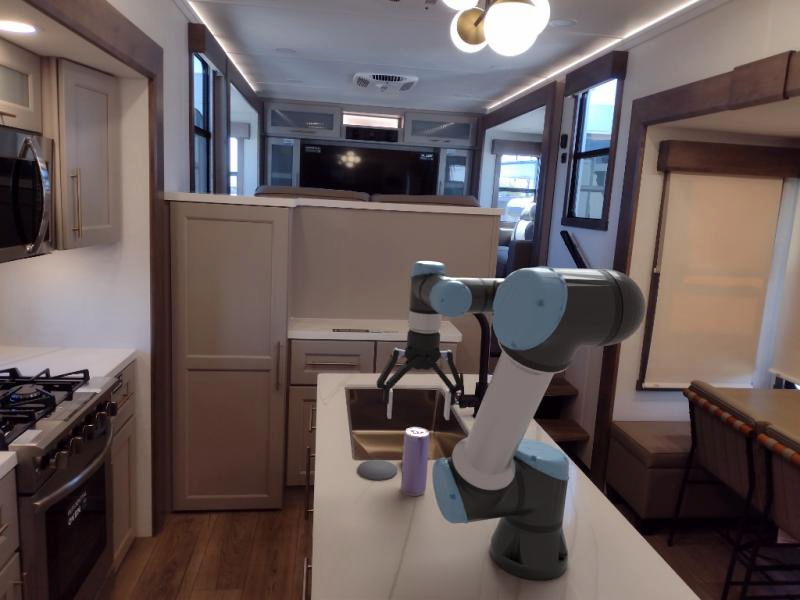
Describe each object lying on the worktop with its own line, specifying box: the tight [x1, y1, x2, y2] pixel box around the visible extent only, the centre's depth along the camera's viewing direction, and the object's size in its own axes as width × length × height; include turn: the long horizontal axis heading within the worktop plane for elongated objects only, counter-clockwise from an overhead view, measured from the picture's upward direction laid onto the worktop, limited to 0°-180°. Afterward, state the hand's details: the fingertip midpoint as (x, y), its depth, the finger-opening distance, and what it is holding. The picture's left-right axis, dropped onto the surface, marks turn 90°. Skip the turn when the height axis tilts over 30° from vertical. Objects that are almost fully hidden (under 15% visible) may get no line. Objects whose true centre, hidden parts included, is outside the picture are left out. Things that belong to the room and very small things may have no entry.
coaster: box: [357, 459, 398, 481], centre depth 148 cm, size 10×10×1 cm
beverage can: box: [400, 426, 430, 497], centre depth 138 cm, size 6×6×15 cm
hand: (417, 417), depth 136 cm, fingers open, 13 cm apart
